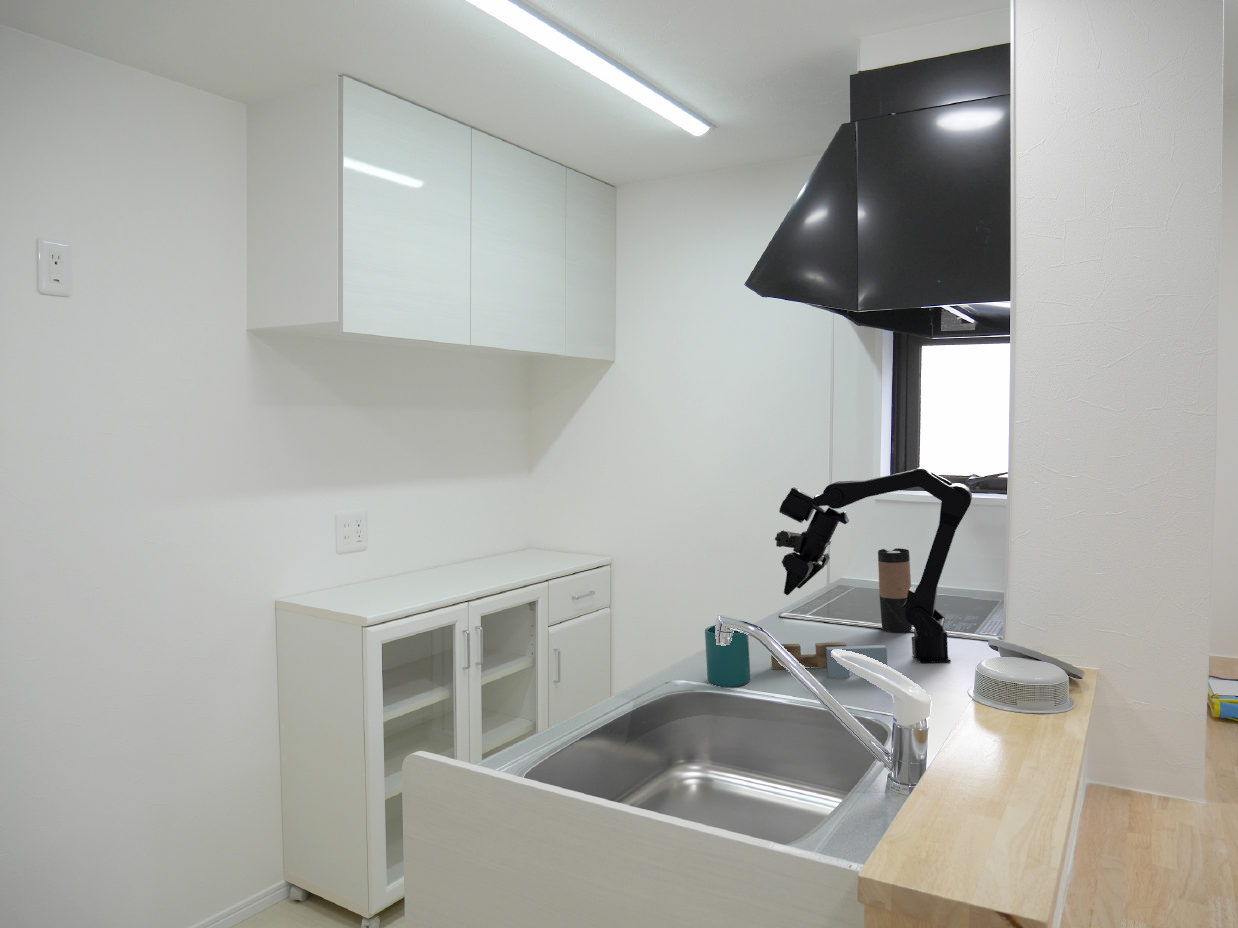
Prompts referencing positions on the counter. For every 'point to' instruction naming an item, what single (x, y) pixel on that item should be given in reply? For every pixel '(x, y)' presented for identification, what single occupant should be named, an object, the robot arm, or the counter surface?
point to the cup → (727, 660)
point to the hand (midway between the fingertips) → (791, 590)
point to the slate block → (870, 651)
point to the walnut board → (810, 659)
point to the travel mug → (894, 589)
